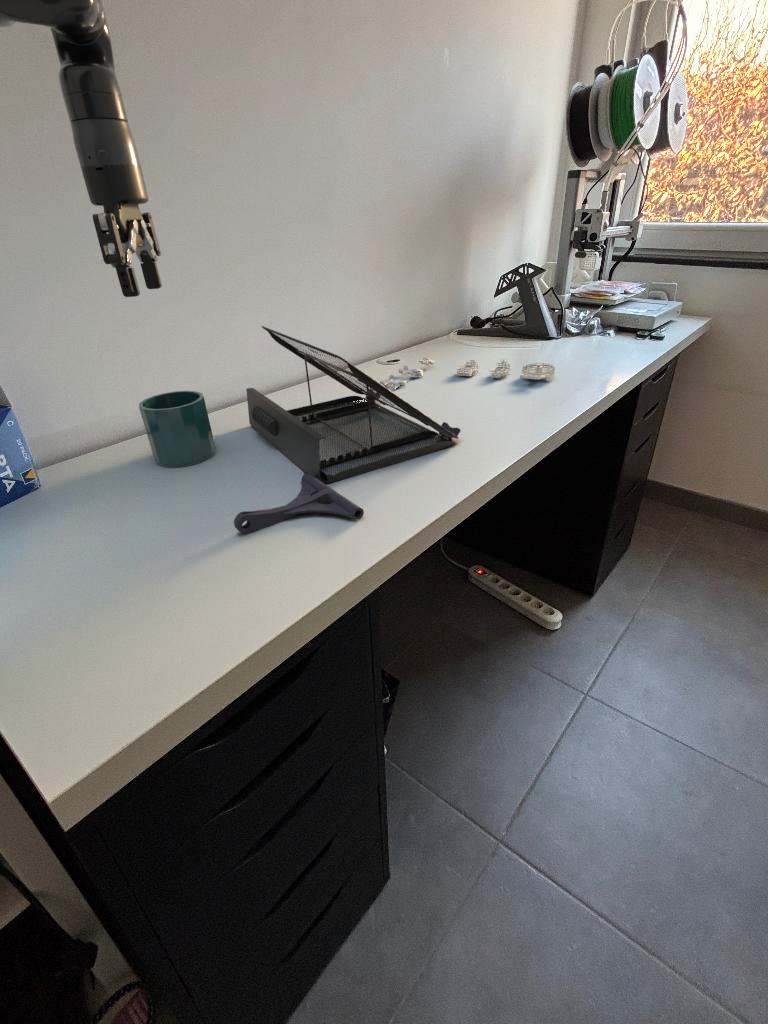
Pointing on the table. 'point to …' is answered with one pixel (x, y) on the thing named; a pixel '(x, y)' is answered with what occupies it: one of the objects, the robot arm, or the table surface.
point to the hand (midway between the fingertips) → (143, 292)
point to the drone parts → (470, 369)
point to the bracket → (300, 506)
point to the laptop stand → (304, 440)
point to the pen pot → (178, 428)
